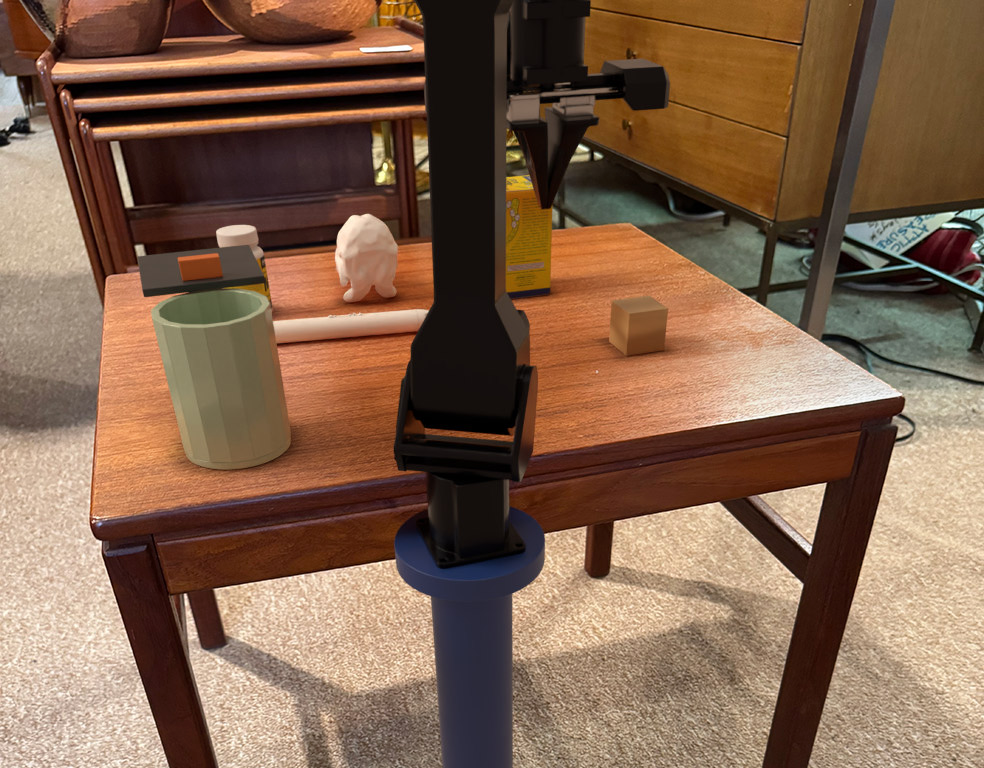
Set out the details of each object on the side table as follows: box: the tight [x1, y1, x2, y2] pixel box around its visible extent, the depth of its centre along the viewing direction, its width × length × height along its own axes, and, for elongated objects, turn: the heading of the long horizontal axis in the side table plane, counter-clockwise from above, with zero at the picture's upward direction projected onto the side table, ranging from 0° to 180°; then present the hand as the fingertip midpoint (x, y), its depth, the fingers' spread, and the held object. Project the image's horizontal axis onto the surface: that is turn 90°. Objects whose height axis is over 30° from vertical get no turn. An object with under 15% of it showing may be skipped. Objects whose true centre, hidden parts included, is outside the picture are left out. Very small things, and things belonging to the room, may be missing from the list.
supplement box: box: [506, 174, 554, 300], centre depth 101 cm, size 6×6×11 cm
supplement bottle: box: [215, 224, 274, 313], centre depth 97 cm, size 5×5×8 cm
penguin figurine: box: [334, 213, 399, 303], centre depth 102 cm, size 6×8×12 cm
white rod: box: [273, 308, 430, 344], centre depth 93 cm, size 18×2×2 cm, turn 101°
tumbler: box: [150, 288, 292, 471], centre depth 72 cm, size 8×8×11 cm
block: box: [608, 294, 669, 357], centre depth 89 cm, size 4×4×4 cm
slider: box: [136, 245, 265, 298], centre depth 73 cm, size 9×9×2 cm
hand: (544, 208), depth 79 cm, fingers closed
